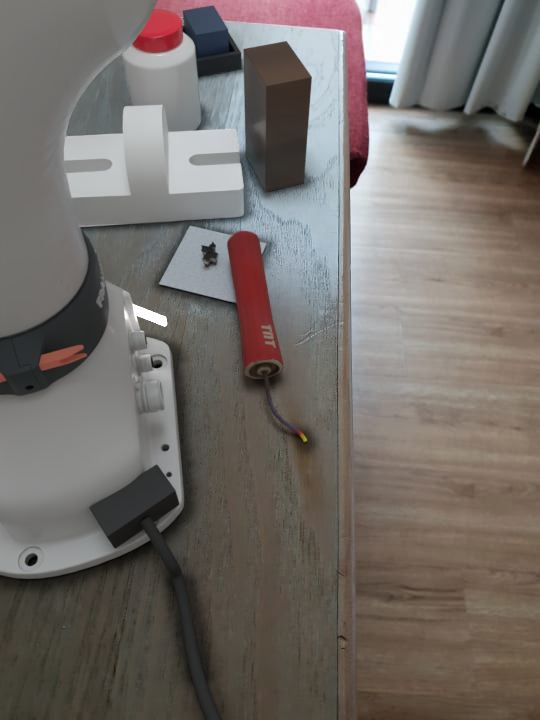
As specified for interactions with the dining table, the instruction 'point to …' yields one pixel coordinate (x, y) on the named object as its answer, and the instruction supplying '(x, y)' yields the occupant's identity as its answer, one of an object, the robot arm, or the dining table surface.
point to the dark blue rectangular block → (206, 31)
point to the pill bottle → (165, 71)
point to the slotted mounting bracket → (154, 172)
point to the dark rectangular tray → (220, 61)
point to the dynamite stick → (255, 313)
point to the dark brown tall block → (276, 114)
